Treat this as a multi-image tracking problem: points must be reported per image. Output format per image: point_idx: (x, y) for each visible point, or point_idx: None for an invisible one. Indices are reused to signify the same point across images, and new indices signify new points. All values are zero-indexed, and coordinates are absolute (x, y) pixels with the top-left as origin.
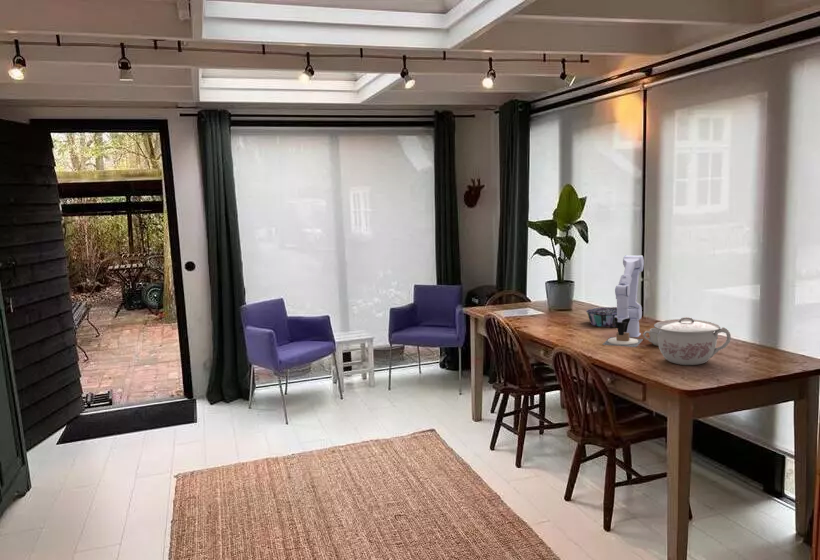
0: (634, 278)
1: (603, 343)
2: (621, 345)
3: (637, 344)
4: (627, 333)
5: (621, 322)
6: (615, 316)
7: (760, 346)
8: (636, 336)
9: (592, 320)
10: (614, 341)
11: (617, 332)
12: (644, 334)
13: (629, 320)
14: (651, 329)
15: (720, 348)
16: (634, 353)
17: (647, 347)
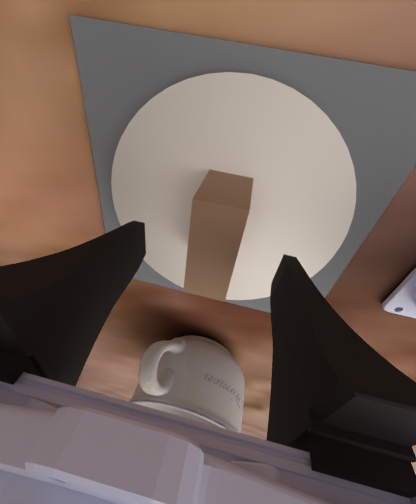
0: None
1: (115, 25)
2: (111, 201)
3: (169, 283)
4: (192, 287)
5: None
6: (38, 457)
7: (228, 461)
8: (395, 305)
9: None
10: (165, 152)
11: (224, 210)
12: (141, 361)
13: (270, 437)
14: (203, 413)
15: None
16: (8, 252)
17: (142, 308)
